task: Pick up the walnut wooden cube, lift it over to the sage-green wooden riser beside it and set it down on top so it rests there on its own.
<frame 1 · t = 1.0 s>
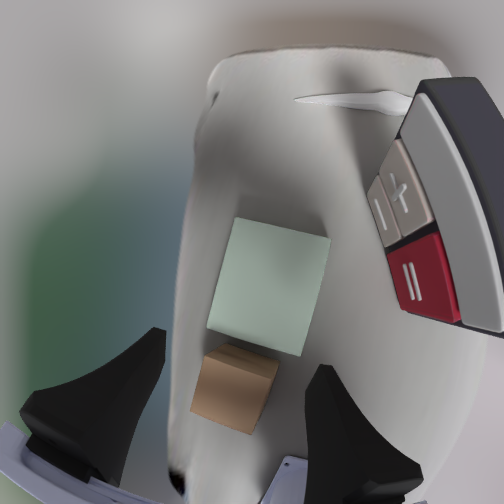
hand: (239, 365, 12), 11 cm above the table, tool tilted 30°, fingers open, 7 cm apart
calculator: (402, 245, 22), on the table
walnut cube: (244, 377, 23), on the table
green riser: (273, 285, 24), on the table
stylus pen: (367, 107, 24), on the table
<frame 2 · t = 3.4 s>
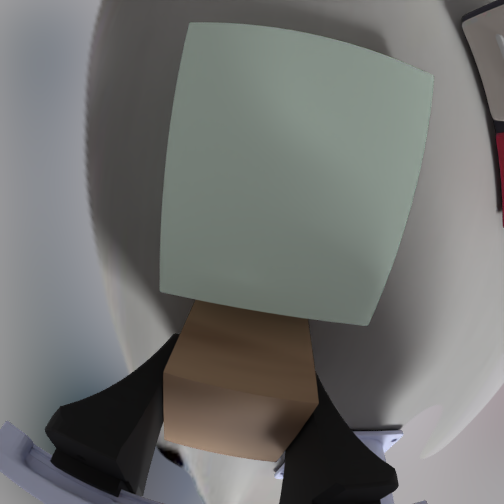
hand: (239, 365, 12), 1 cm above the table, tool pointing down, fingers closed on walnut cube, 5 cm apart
walnut cube: (242, 345, 13), on the table, touching gripper
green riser: (289, 169, 11), on the table
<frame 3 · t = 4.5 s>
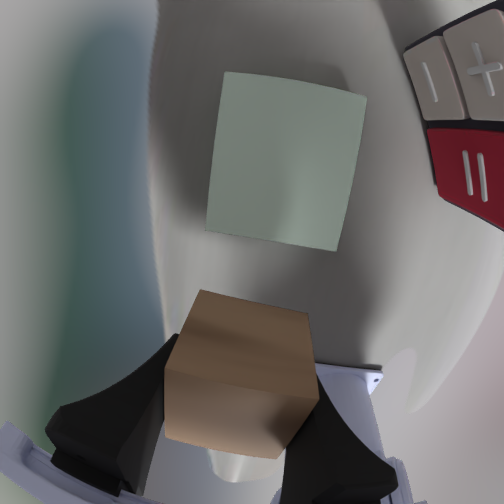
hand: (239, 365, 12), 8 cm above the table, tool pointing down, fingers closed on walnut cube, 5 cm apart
calculator: (440, 121, 15), on the table
walnut cube: (243, 342, 14), point 7 cm above the table, touching gripper
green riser: (283, 157, 17), on the table
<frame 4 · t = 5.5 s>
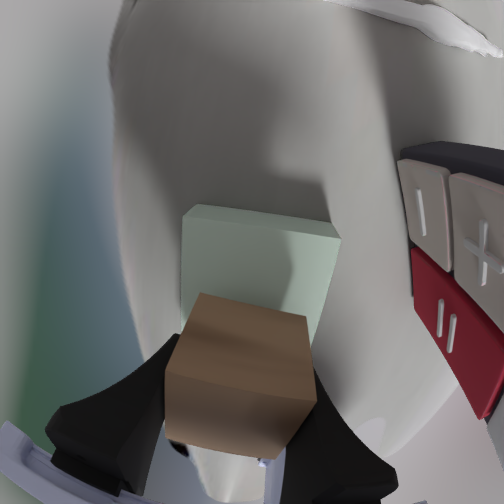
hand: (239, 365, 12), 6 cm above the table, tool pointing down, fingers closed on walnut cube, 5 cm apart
calculator: (430, 230, 15), on the table
walnut cube: (242, 344, 14), point 4 cm above the table, touching gripper
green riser: (254, 281, 18), on the table
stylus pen: (400, 18, 10), on the table
when the fingers open (6 cm above the table, at t = 6.3 s): walnut cube drops 2 cm, resting on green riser.
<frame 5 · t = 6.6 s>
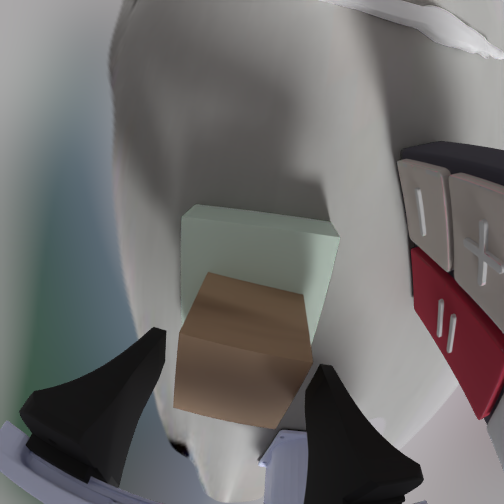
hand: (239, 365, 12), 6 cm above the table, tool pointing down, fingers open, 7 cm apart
calculator: (430, 230, 15), on the table
walnut cube: (245, 321, 15), point 3 cm above the table, touching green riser
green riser: (254, 280, 18), on the table, touching walnut cube
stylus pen: (401, 19, 10), on the table
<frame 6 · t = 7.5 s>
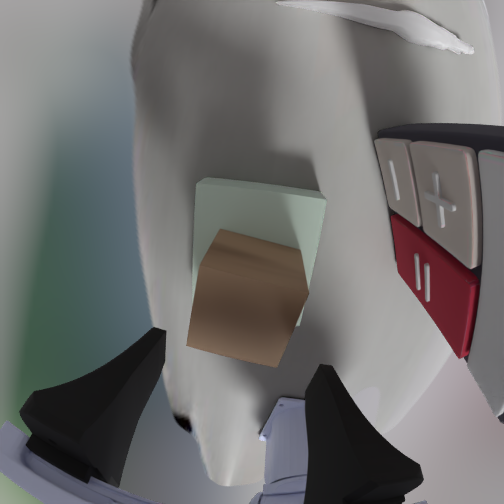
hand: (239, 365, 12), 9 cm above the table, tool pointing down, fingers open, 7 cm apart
calculator: (408, 201, 18), on the table
walnut cube: (250, 275, 18), point 3 cm above the table
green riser: (255, 244, 20), on the table
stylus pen: (380, 23, 13), on the table
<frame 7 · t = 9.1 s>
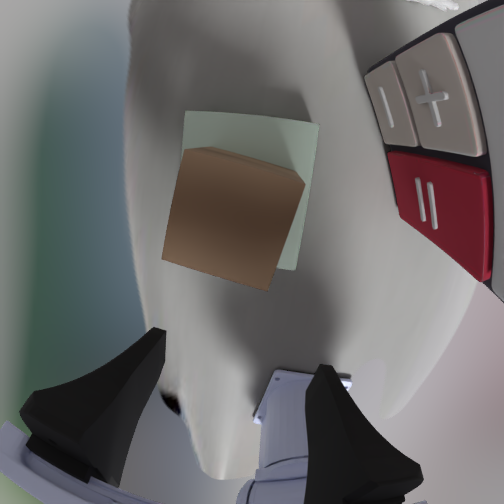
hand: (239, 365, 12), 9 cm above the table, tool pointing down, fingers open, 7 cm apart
calculator: (404, 142, 16), on the table
walnut cube: (240, 199, 16), point 3 cm above the table
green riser: (247, 183, 19), on the table
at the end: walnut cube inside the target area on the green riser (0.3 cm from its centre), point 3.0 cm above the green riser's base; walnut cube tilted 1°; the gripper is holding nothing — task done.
